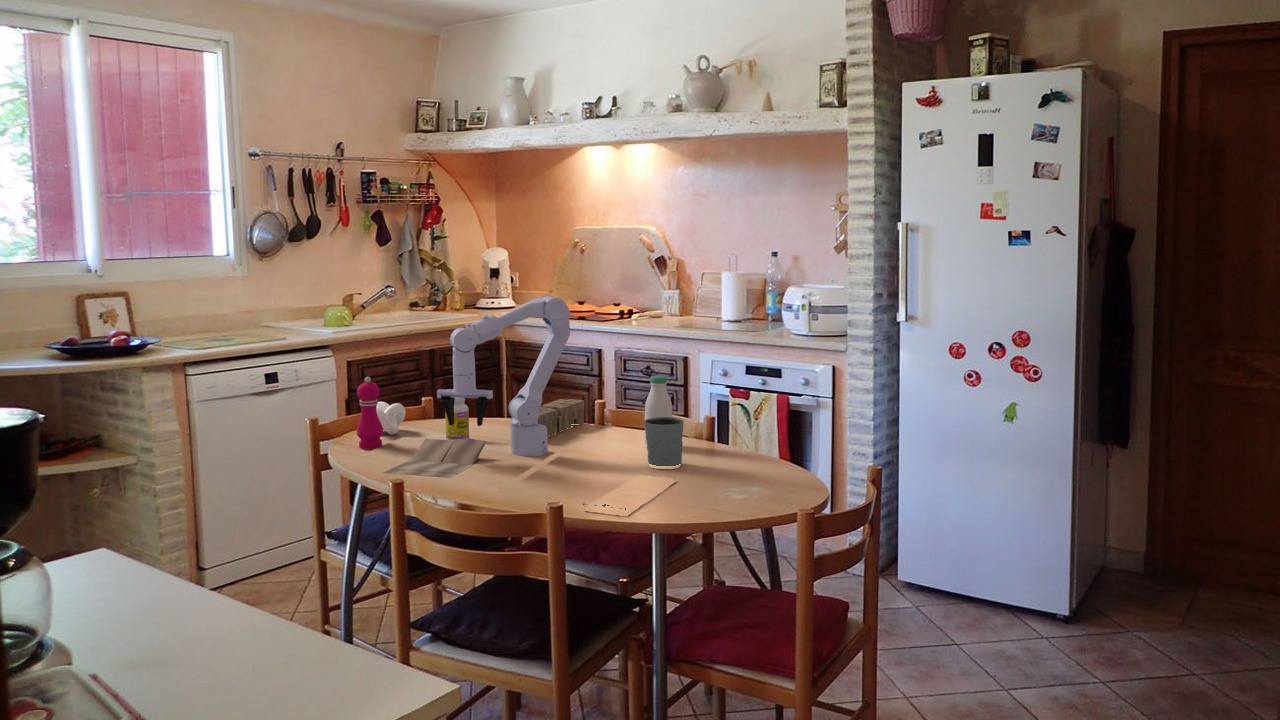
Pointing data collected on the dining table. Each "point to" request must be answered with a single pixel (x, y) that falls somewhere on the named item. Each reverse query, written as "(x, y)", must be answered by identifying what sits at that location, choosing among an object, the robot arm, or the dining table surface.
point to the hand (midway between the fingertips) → (465, 424)
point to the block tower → (561, 415)
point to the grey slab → (428, 469)
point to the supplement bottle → (458, 421)
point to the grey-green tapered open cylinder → (664, 440)
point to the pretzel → (390, 416)
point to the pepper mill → (369, 416)
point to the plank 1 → (433, 450)
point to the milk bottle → (658, 399)
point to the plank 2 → (464, 451)
